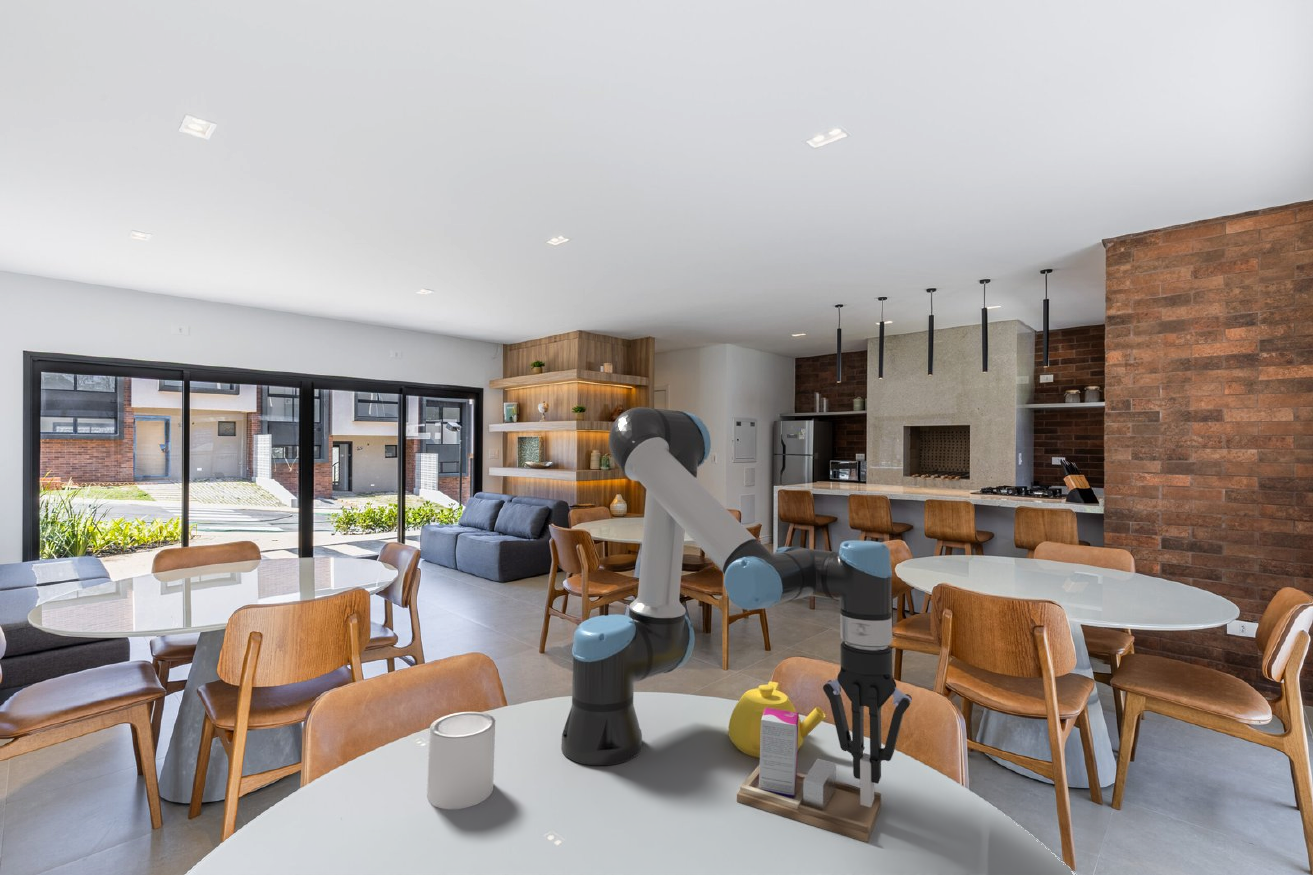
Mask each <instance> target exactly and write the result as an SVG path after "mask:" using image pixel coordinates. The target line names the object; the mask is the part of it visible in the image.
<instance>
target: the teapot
mask: <svg viewBox="0 0 1313 875" xmlns="http://www.w3.org/2000/svg"><path fill="white" fill-rule="evenodd" d="M765 708H771V709H777V710H784V711H791V712H797V709H796V708H795V706H794V704H793V702H792V701H791V699H790V698H789V696H788V695H787V694H786V693H784V692H783V691H780V684H779V682H776V681H770V680H769V681H768V683H767V684H760V685H759V686H758V687H757V688H751V689H748V690H747V691H745V692H744V694H742V696H741V697H740V699H739V700H738V702H737V703H736V704H735V707H734V708H733V710H732V713H731V715H730V718H729V721H728V722H729V724H728V731H727V732H728V736H729V739H730V740H731V742H732V744H733V745H734V746H735V747H736V748H737V750H739V751H741V752H742V753H744V754H745V755H748V756H751V757H754V758H757V759H758V758H759V759H760V741H761V719H762V716H763V713H764V710H765ZM797 713H798V712H797ZM826 716H827V715H826V714H825V712H824V711H823V710H822V709H821V708H820V707H818V706H816V707H815V708H814V709H813V710H812V711H811V712H810V713H809V714H808V715H807V716H806V718H805V719H804V720H802V721H801V718H800V716H798V750H799V749H800V748H801V747H802V745H803V743H804V742H805V741H804V740H805V738H806V737H807V736H808V735H809V734H810V733H811V732H812V731H813V730H814V729H815V728H816V727H817V726H818V725H819V724H820V723H822V722H823V720H824V719H826V718H827V717H826Z"/></svg>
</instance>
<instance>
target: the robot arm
mask: <svg viewBox="0 0 1313 875" xmlns="http://www.w3.org/2000/svg"><path fill="white" fill-rule="evenodd" d="M711 440H712V439H711V435H710V431H709V429H708V427H707V426H706V424H705V422H703V420H702V419H701V418H700V417H699V416H697V415H695V414H693V413H691V412H685V411H681V410H670V409H661V408H651V407H644V406H636V407H632V408H630V409H628V410H626V411H624V412H622V413H621V414H620V415H619V416H618V417H617V418H616V419H615V421H614V422H612V425H611V427H610V431H609V435H608V447H609V451H610V452H609V453H610V454H611V456H612V458H613V460H614V462H615V464H616V465H617V467H618V468H619V469H620V470H621V472H622V473H624V475H625V476H626V477H627V478H628V479H629V480H631V481H634V482H639V483H640V484H641V485H642V487H644V488H645V490H646V492H645V503H644V504H645V505H644V516H643V527H642V528H643V529H642V540H641V542H642V543H641V552H640V553H641V554H640V564H639V565H640V566H639V577H638V578H639V579H638V590H637V597H636V598H635V599H634V600H633V601H632V602H631V603H629V609H628V615H624V614H608V615H605V614H603V615H597V616H593V617H591V618H588V619H586V620H584V621H582V622H581V623H579V625H578V626H577V627H576V628H575V631H574V633H573V645H572V649H571V653H572V683H571V684H572V689H571V690H572V691H571V707H570V710H569V713H568V716H567V719H566V721H565V724H564V727H563V730H562V733H561V744H560V745H561V753H562V754H563V755H564V756H565V757H566V758H568V759H570V761H573V762H576V763H579V764H583V765H587V766H588V765H589V766H611V765H616V764H617V765H618V764H621V763H623V762H627V761H630V760H632V759H633V758H635V757H636V756H637V755H638V754H639V753H640V752H641V750H642V748H643V734H642V729H641V728H640V724H639V720H638V717H637V713H636V709H635V705H634V691H635V690H634V688H635V683H637V682H641V681H643V680H647V679H650V678H652V677H655V676H658V675H662V674H667V673H670V672H672V671H674V670H676V669H678V668H680V667H682V666H683V665H685V664H686V663H687V662H688V661H689V659H690V658H691V655H692V653H693V651H694V648H695V647H694V646H695V639H696V638H695V631H694V627H693V626H691V624H692V622H691V620H690V619H689V617H688V616H687V615H686V608H685V606H684V605H683V604H682V603H681V601H680V595H681V594H680V593H681V582H682V581H681V580H682V572H683V571H682V570H683V557H684V547H685V546H684V545H685V533H686V534H687V535H688V536H689V537H690V538H691V540H692V541H694V543H695V544H696V545H697V546H698V547H699V548H700V549H701V551H703V553H704V554H706V556H707V557H708V558H709V559H710V560H711V561H712V562H713V563H714V564H715V565H716V567H717V568H718V569H719V570H720V571H721V572H722V573H723V574H724V576H723V577H724V578H723V586H724V588H725V590H726V593H727V597H728V599H729V600H730V601H731V602H732V604H734V606H736V607H738V608H739V609H742V610H749V611H753V610H754V611H755V610H761V609H762V610H763V609H769V608H771V607H773V606H774V605H775V606H776V605H778V604H782V603H785V602H791V601H794V600H798V599H802V598H805V597H817V598H825V599H830V600H835V601H836V600H838V601H839V607H840V608H839V609H840V610H839V611H840V612H839V613H840V619H839V620H840V621H839V622H840V623H839V624H840V633H839V634H840V639H841V640H842V642H841V643H840V645H839V646H840V647H839V648H840V671H839V673H838V674H837V677H836V678H835V679H833V680H828V681H826V683H824V685H823V688H822V690H823V691H824V693H825V695H826V696H827V699H828V701H829V705H830V708H831V711H832V716H833V722H834V725H835V726H834V727H835V730H836V734H837V738H838V742H839V747H840V749H841V750H842V751H843V752H848V753H849V754H850V755H851V756H852V768H853V769H852V770H853V771H852V773H853V778H854V779H857V780H859V784H860V785H859V786H860V805H864V806H867V807H871V806H872V803H873V801H874V792H875V784H877V785H878V784H879V782H880V780H881V778H882V761H886V762H890V761H891V760H892V759H893V756H894V753H895V749H896V744H897V742H898V738H899V734H900V729H901V727H902V726H901V725H902V721H903V718H904V714H905V712H906V711H907V710H908V708H909V707H910V706H911V702H912V700H913V698H912V696H911V694H908V693H904V692H902V690H900V689H899V688H897V682H896V681H895V678H894V676H893V648H891V646H890V645H891V644H893V616H892V580H893V579H892V577H893V571H892V562H891V551H890V548H889V547H888V545H887V544H885V543H884V542H880V541H874V540H873V541H872V540H852V539H851V540H845V541H842V542H841V543H840V545H839V551H829V550H823V549H822V550H820V549H813V548H805V547H801V546H781V547H778V548H777V549H776V550H775V552H773V553H772V552H771V551H770V550H769V549H768V548H767V547H766V546H764V545H763V543H761V542H760V541H759V540H758V539H757V538H756V537H755V536H754V535H753V534H752V533H751V532H750V531H749V530H748V529H747V528H746V527H745V526H744V525H743V524H742V523H741V522H740V521H739V520H738V519H737V518H736V517H735V516H734V515H733V514H732V513H731V512H730V511H729V510H728V509H727V508H726V507H725V506H724V505H723V504H722V503H721V502H720V501H719V500H718V499H717V498H716V497H715V496H714V495H713V494H712V493H711V492H710V491H709V490H707V488H706V487H705V486H704V485H703V484H702V483H701V482H700V481H699V480H698V479H697V477H698V468H699V467H701V465H703V464H704V463H705V461H707V459H708V457H709V456H710V453H711V448H712V441H711ZM842 690H843V691H844V693H845V695H846V697H847V699H848V700H849V701H850V702H851V705H850V708H851V710H850V711H851V730H852V731H851V732H850V729H849V725H848V720H847V715H846V711H845V707H844V703H843V702H844V701H843V699H842V695H841V692H842ZM891 696H892V697H893V700H892V704H893V706H895V708H894V711H893V714H892V717H891V722H890V725H889V730H888V733H887V737H886V741H885V745H884V747H883V748H882V708H883V707H882V706H884V705H885V703H886V702H887V701H888V700H889V699H890V697H891ZM865 707H867V708H868V715H869V753H865V752H864V750H865V746H864V745H865V744H864V743H865V739H864V738H865V734H864V733H865V732H864V731H865V730H864V728H865V724H864V722H865V721H864V720H865V719H864V717H865V714H864V709H865ZM851 734H852V736H851Z"/></svg>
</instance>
